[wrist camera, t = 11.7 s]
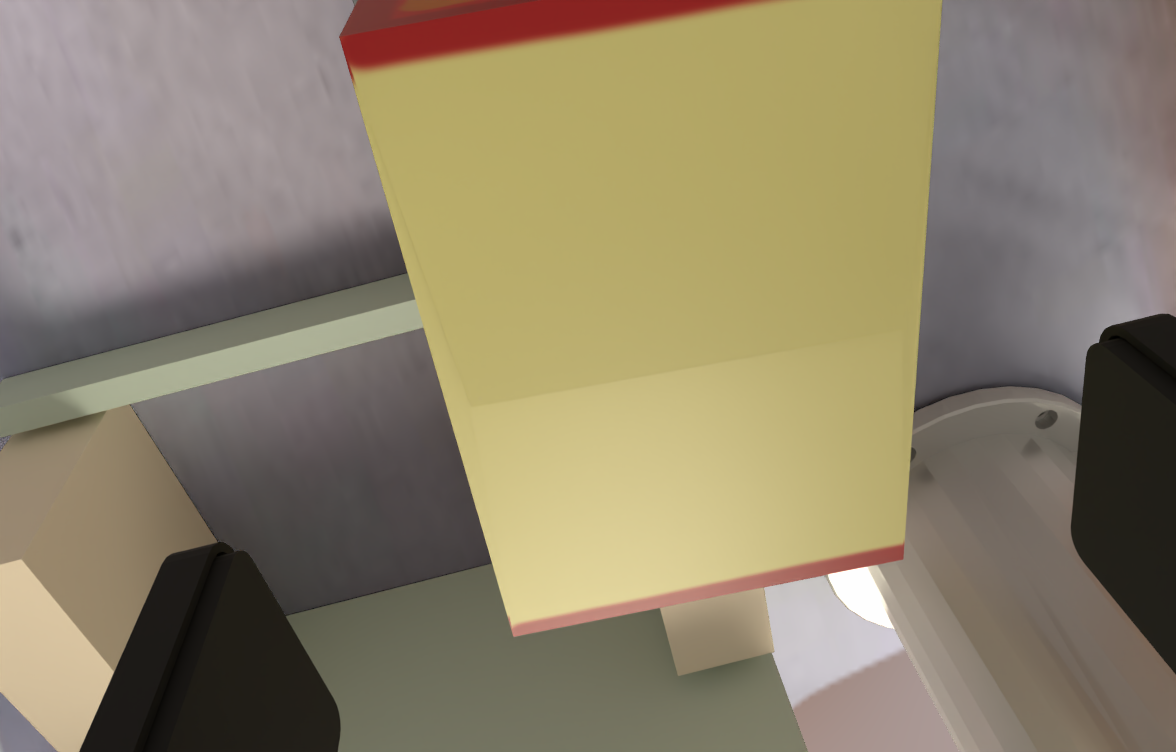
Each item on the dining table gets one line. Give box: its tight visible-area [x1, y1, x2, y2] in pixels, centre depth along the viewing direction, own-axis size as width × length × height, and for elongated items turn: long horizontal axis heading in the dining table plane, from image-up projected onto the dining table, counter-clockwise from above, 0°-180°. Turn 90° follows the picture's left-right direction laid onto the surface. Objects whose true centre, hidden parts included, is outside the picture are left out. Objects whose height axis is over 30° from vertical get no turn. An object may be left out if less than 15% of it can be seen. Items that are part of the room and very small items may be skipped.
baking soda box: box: [339, 0, 942, 637], centre depth 18 cm, size 10×6×16 cm
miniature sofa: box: [0, 273, 808, 752], centre depth 28 cm, size 22×14×12 cm, turn 103°
